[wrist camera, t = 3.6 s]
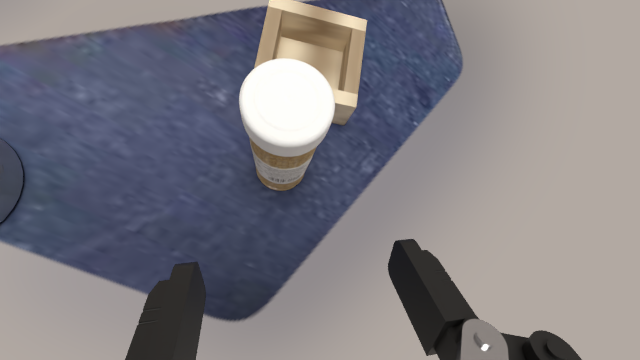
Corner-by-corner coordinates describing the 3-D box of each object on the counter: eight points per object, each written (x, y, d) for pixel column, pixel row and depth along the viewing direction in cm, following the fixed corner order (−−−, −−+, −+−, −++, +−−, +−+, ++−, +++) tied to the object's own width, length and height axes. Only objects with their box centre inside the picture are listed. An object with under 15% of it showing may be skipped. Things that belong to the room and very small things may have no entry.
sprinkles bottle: (308, 151, 26) (344, 69, 13) (298, 197, 25) (327, 156, 12) (261, 139, 26) (251, 42, 13) (249, 186, 25) (225, 131, 12)
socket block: (253, 106, 26) (250, 84, 23) (270, 27, 28) (270, -6, 25) (344, 125, 28) (356, 107, 24) (354, 48, 30) (366, 20, 26)
